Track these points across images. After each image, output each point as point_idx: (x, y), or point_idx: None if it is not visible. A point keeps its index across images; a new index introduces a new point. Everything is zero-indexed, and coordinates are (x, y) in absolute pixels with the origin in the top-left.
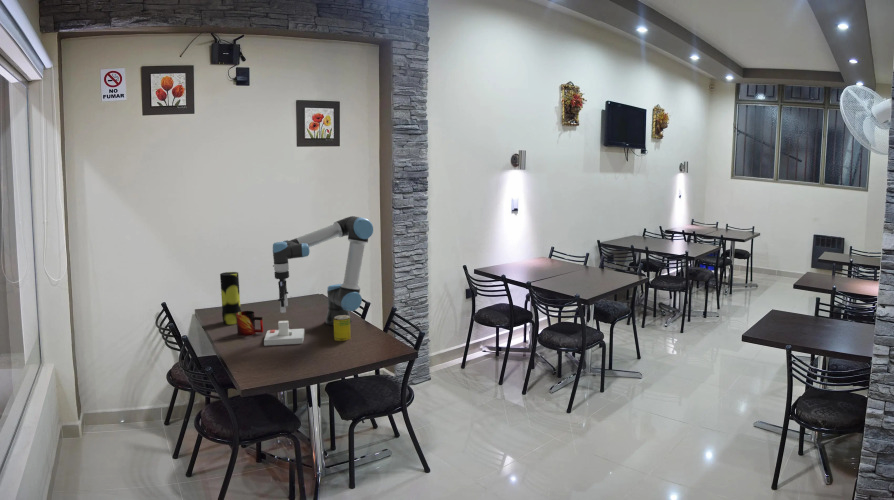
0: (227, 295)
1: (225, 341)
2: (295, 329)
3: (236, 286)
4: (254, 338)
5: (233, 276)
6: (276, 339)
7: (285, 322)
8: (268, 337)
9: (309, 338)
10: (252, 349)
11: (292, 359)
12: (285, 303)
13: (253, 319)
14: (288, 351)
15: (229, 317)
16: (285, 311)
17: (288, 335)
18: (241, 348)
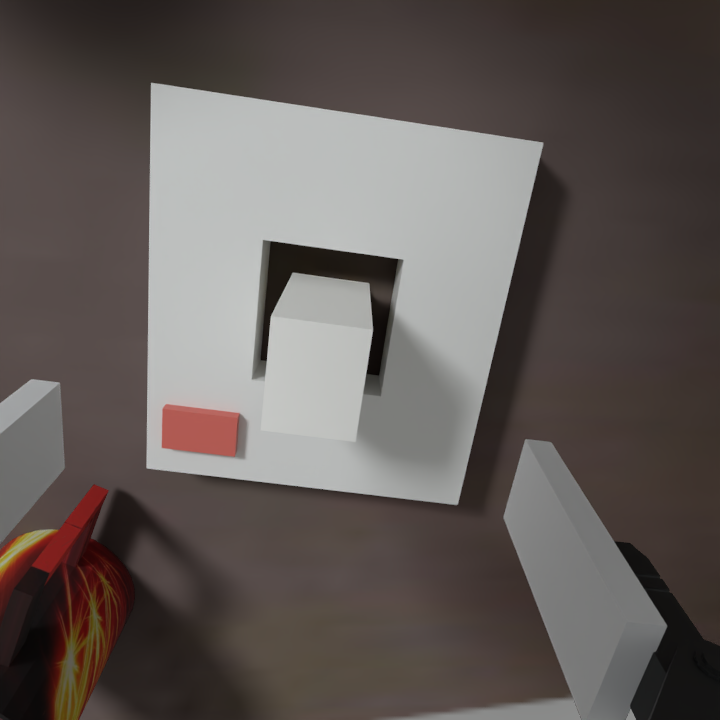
0: None
1: (243, 703)
2: (170, 195)
3: None
4: (219, 538)
5: None
6: (480, 406)
7: (356, 358)
8: (387, 468)
9: (373, 48)
10: (511, 554)
11: None
12: (34, 444)
13: (22, 643)
14: (708, 299)
15: None
16: (556, 454)
17: (366, 285)
18: (453, 617)
